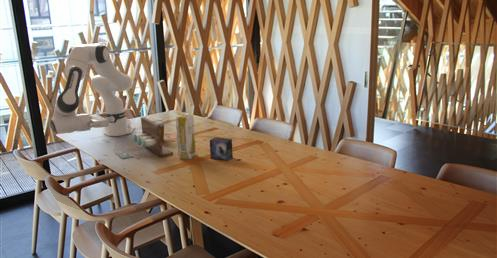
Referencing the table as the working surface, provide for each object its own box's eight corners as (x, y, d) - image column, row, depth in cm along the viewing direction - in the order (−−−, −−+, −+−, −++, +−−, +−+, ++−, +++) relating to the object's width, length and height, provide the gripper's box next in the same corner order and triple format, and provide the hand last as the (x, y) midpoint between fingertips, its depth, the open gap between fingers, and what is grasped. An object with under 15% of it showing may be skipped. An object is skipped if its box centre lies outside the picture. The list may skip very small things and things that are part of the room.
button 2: (144, 149, 224) (144, 141, 222) (141, 147, 227) (141, 139, 226) (158, 146, 228) (157, 138, 227) (155, 144, 231) (154, 136, 230)
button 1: (135, 143, 235) (134, 135, 234) (132, 141, 238) (132, 133, 237) (148, 140, 239) (148, 132, 238) (145, 138, 242) (145, 131, 241)
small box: (209, 158, 223) (208, 139, 220) (216, 155, 229) (215, 136, 226) (227, 161, 218) (226, 142, 215) (233, 157, 224) (232, 138, 221)
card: (122, 159, 226) (122, 157, 226) (115, 153, 236) (115, 152, 236) (133, 156, 230) (133, 155, 229) (126, 151, 239) (125, 150, 239)
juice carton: (191, 159, 222) (188, 115, 216) (177, 159, 224) (173, 115, 217) (197, 154, 231) (194, 111, 224) (183, 153, 232) (180, 111, 226)
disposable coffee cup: (168, 138, 262) (166, 120, 258) (163, 143, 252) (162, 124, 249) (153, 138, 263) (151, 120, 259) (148, 143, 253) (146, 124, 250)
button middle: (140, 145, 229) (139, 138, 228) (137, 144, 233) (136, 136, 231) (153, 143, 233) (152, 135, 232) (150, 141, 237) (149, 133, 236)
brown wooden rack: (159, 157, 227) (156, 125, 222) (143, 147, 245) (140, 117, 240) (173, 154, 231) (170, 123, 226) (156, 145, 250) (154, 115, 245)
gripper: (90, 119, 210) (117, 116, 217) (79, 113, 226) (105, 110, 234) (91, 131, 211) (118, 128, 219) (80, 124, 227) (106, 121, 235)
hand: (111, 119), depth 226 cm, fingers closed
